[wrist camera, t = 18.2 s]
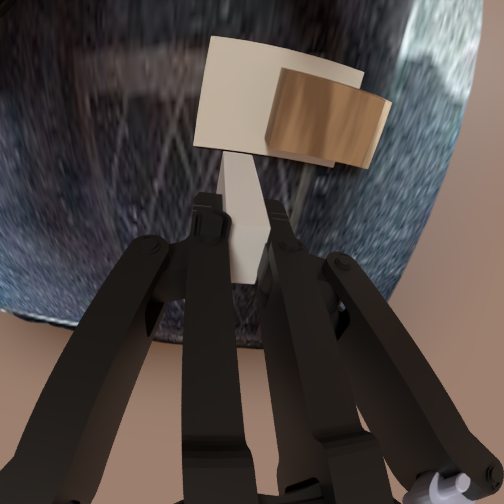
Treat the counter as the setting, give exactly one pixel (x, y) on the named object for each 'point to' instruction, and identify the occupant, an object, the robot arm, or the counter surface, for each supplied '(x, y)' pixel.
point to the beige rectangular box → (325, 119)
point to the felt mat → (253, 94)
